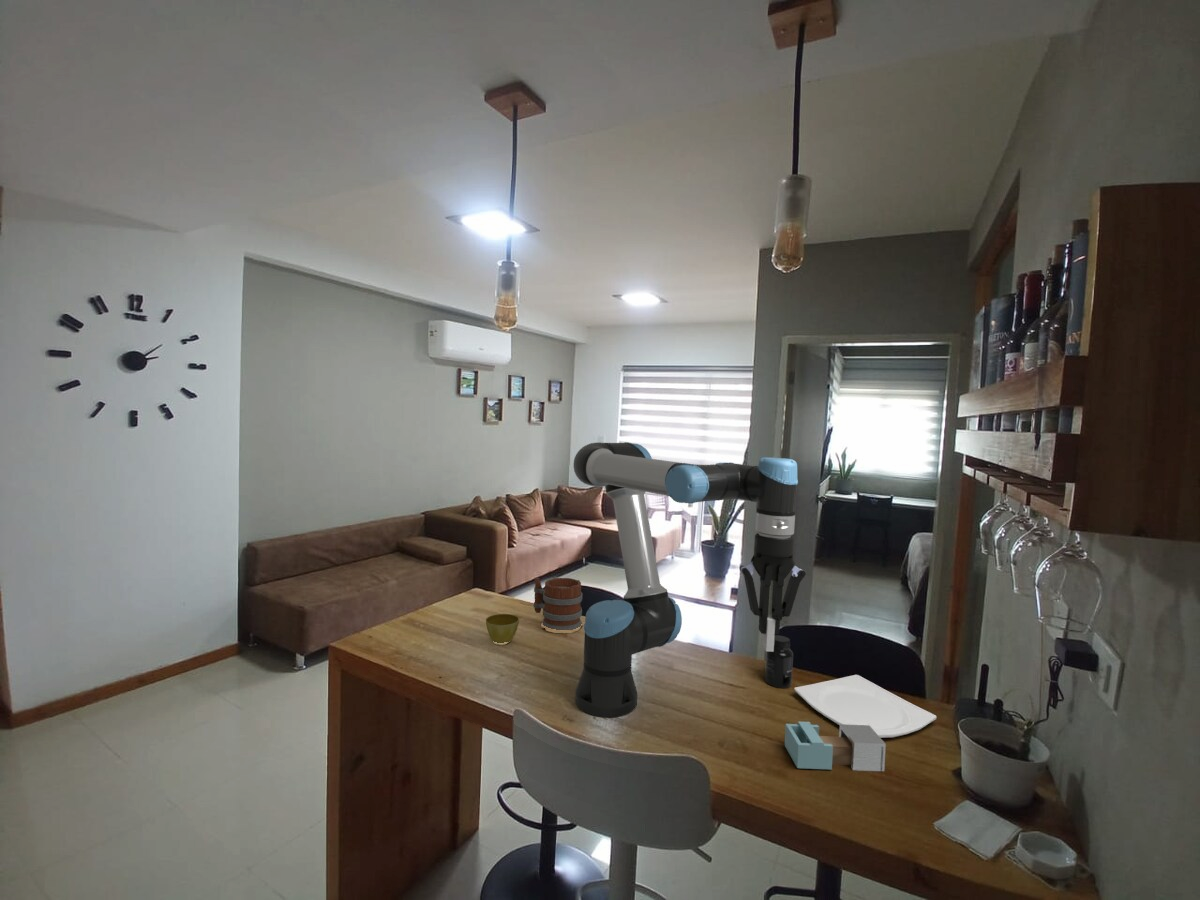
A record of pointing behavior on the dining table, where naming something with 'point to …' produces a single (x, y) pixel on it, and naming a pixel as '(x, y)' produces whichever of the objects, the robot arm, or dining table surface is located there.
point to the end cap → (864, 747)
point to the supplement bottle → (779, 663)
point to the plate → (865, 706)
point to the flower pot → (502, 627)
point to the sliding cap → (807, 746)
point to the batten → (839, 749)
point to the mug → (559, 603)
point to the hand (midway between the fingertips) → (767, 648)
